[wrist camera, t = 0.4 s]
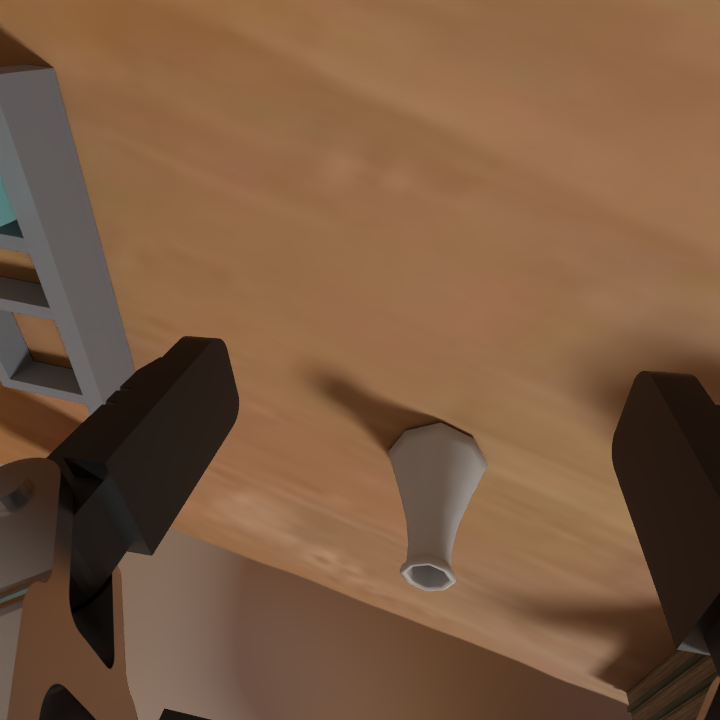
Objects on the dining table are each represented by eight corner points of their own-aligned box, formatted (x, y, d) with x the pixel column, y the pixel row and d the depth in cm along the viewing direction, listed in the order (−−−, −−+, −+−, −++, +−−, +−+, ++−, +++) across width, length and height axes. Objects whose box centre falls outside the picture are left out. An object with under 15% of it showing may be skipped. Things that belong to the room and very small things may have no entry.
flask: (372, 446, 36) (346, 563, 29) (442, 406, 33) (433, 529, 25) (432, 495, 39) (422, 616, 31) (504, 463, 35) (514, 593, 27)
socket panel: (-147, 38, 25) (-236, 41, 22) (53, 68, 24) (-10, 75, 21) (14, 373, 40) (-26, 403, 36) (142, 401, 38) (113, 434, 35)
